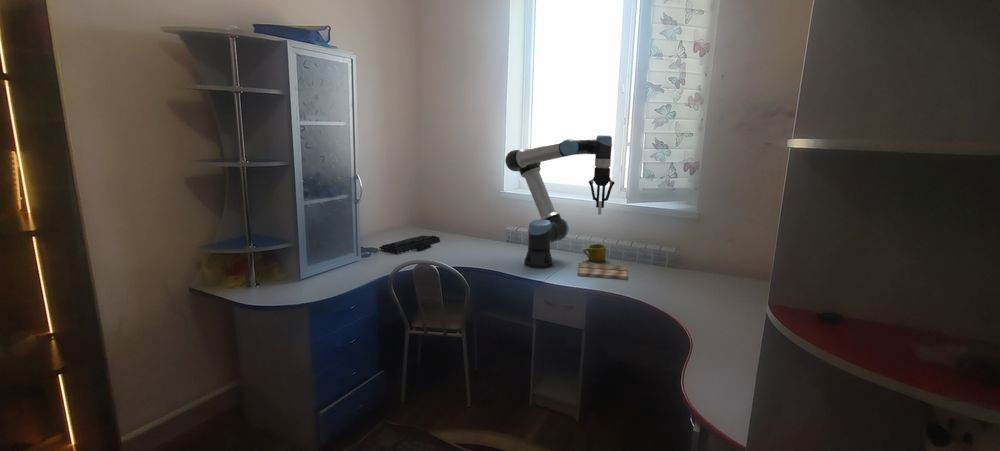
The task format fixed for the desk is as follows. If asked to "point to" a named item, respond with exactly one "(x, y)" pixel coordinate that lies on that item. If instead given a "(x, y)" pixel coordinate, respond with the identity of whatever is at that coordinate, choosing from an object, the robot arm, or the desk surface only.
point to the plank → (602, 266)
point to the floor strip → (602, 273)
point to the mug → (596, 252)
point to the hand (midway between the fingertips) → (599, 214)
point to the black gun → (411, 244)
